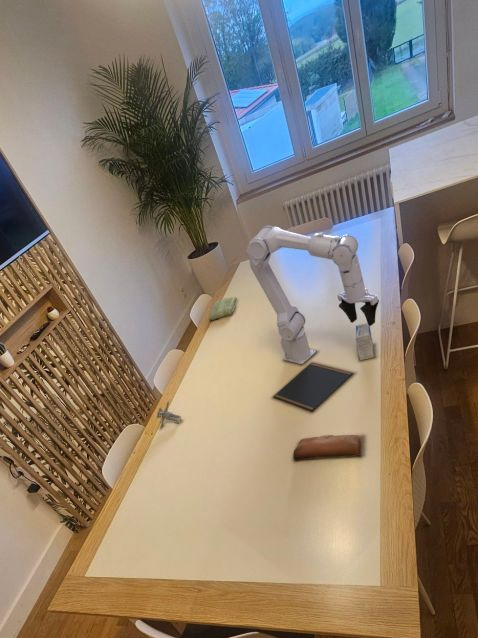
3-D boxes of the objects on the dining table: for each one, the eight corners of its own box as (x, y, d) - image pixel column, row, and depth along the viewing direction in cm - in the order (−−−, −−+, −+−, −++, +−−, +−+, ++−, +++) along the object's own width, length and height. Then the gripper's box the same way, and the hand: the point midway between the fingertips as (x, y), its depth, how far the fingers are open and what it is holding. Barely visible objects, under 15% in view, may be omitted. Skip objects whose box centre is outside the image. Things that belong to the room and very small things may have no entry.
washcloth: (238, 298, 209) (235, 292, 207) (233, 315, 197) (231, 309, 195) (214, 306, 214) (212, 300, 212) (209, 322, 202) (206, 317, 200)
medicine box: (374, 358, 134) (370, 334, 128) (359, 360, 136) (355, 338, 130) (373, 344, 139) (369, 321, 134) (359, 347, 141) (355, 325, 135)
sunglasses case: (362, 433, 112) (358, 426, 106) (363, 458, 110) (359, 453, 104) (298, 439, 119) (291, 433, 114) (299, 463, 118) (291, 458, 112)
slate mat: (273, 397, 139) (272, 396, 139) (312, 363, 145) (311, 362, 145) (312, 412, 127) (311, 410, 126) (353, 373, 132) (352, 372, 132)
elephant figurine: (172, 432, 147) (151, 425, 150) (180, 433, 153) (159, 426, 155) (180, 405, 145) (158, 398, 148) (187, 407, 151) (166, 400, 154)
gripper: (381, 275, 116) (389, 318, 124) (344, 273, 127) (355, 312, 135) (363, 288, 115) (373, 331, 123) (328, 285, 126) (339, 324, 134)
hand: (362, 322), depth 129 cm, fingers open, 7 cm apart
